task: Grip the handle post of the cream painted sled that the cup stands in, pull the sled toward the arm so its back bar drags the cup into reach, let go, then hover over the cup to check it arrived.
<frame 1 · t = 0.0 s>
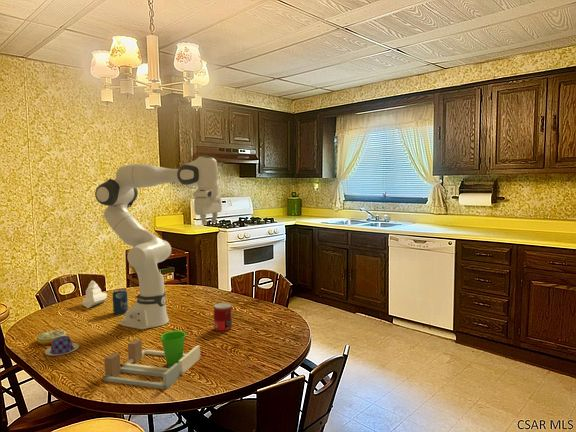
hand: (209, 223, 178), 48 cm above the table, fingers open, 8 cm apart
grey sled: (140, 369, 135), point 3 cm above the table, slide at 0.0 cm
checkered hat: (62, 351, 159), on the table
decorated donut: (52, 341, 169), on the table
cup: (174, 364, 146), resting in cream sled
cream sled: (160, 353, 147), point 3 cm above the table, slide at 0.0 cm
canned food: (223, 329, 180), on the table
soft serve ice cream: (94, 305, 219), on the table
soda can: (120, 313, 205), on the table
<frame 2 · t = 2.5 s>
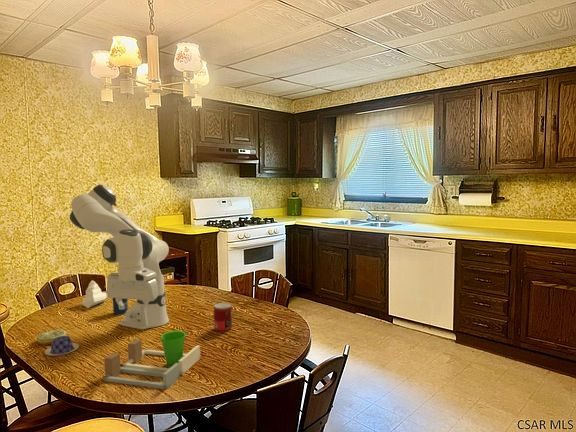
hand: (132, 310, 148), 19 cm above the table, fingers open, 8 cm apart
nothing on the table moved.
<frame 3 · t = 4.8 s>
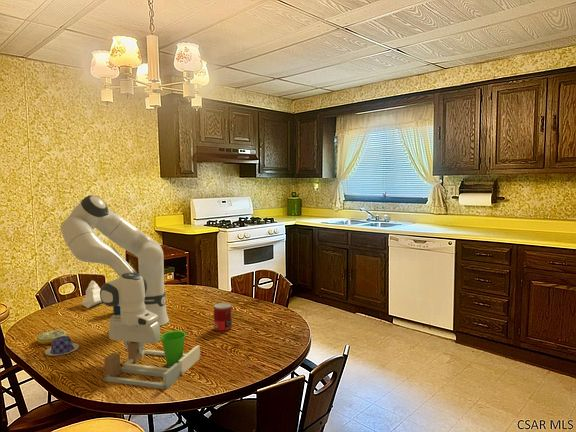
hand: (135, 352, 149), 3 cm above the table, fingers closed on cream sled, 3 cm apart
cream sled: (160, 353, 147), point 3 cm above the table, slide at 0.0 cm, touching gripper
everything else where it was.
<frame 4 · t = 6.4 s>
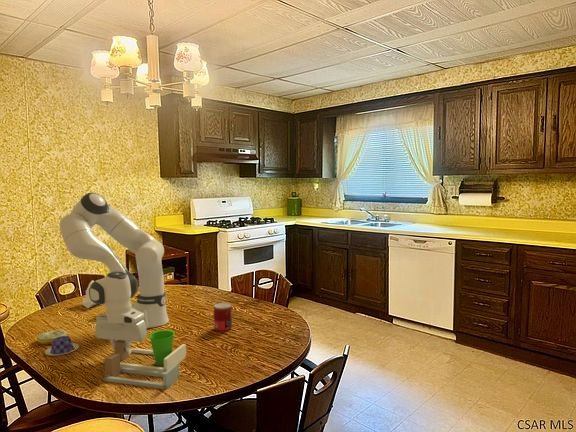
hand: (121, 350, 151), 3 cm above the table, fingers open, 3 cm apart
cup: (163, 363, 147), resting in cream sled
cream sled: (146, 352, 148), point 3 cm above the table, slide at 5.9 cm, touching cup, gripper
everything else where it was.
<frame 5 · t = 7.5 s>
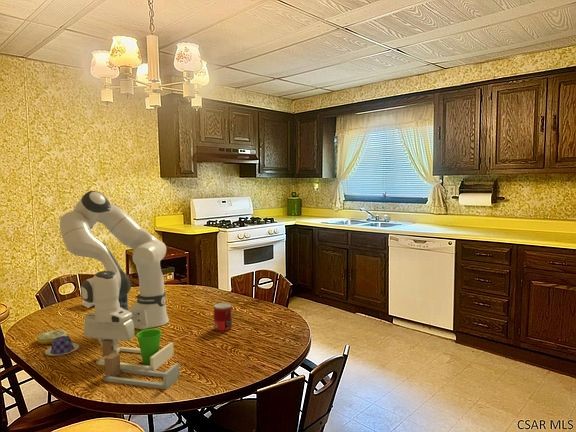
hand: (109, 349, 152), 3 cm above the table, fingers closed on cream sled, 3 cm apart
cup: (150, 362, 148), resting in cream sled
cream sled: (134, 350, 149), point 3 cm above the table, slide at 11.3 cm, touching cup, gripper
everything else where it was.
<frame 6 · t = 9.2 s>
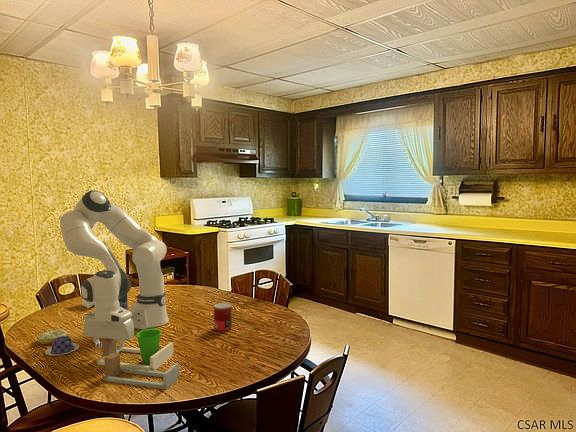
hand: (109, 348, 152), 3 cm above the table, fingers open, 8 cm apart
cup: (150, 362, 148), resting in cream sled
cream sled: (134, 350, 149), point 3 cm above the table, slide at 11.3 cm
everything else where it was.
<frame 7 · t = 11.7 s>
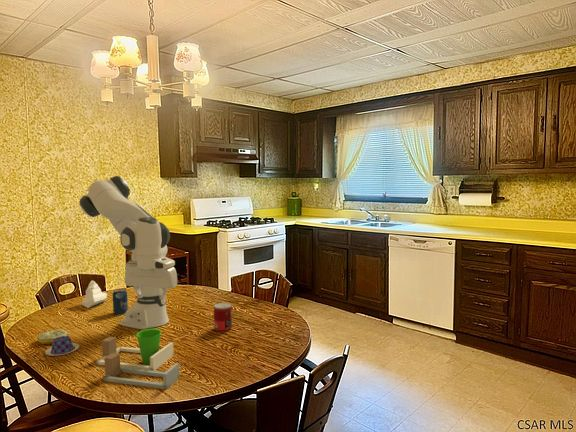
hand: (151, 298, 147), 24 cm above the table, fingers open, 8 cm apart
nothing on the table moved.
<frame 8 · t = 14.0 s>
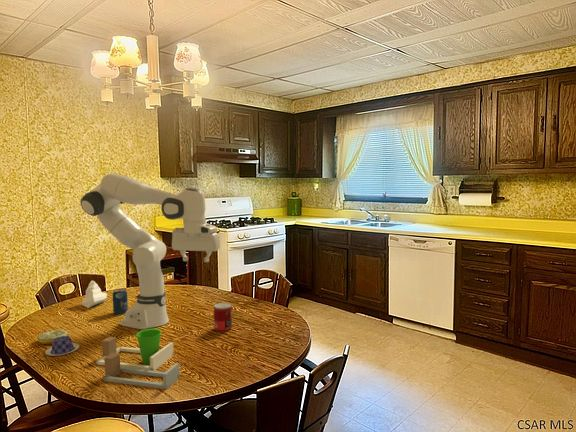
hand: (196, 261, 163), 34 cm above the table, fingers open, 8 cm apart
at the end: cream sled slide at 11.3 cm; cup inside the target area (1.0 cm from its centre), resting in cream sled; cup tilted 0° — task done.
